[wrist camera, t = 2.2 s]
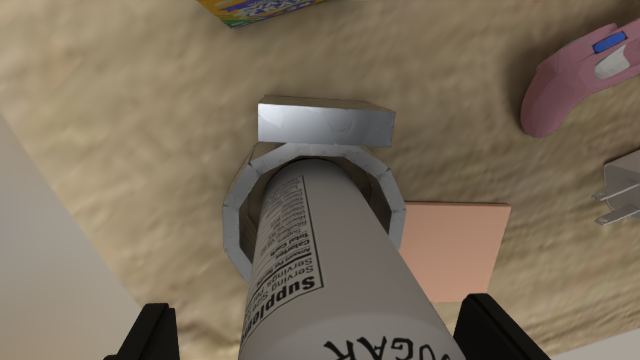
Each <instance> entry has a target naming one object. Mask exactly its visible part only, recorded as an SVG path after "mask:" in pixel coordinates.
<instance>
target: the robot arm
mask: <svg viewBox="0 0 640 360" xmlns="http://www.w3.org/2000/svg"><path fill="white" fill-rule="evenodd" d="M453 338H454V340H455V341H456V343H457V345H458V346H459V348H460V350H461V351H462V353H463V355H464V356H465V358H466V360H551V359H550V358H549V357H548V356H547V355H546V354H545V353H544V352H543V351H542V350H541V349H540V348H539V346H538V345H537V344H536V343H535V342H534V341H533V340H532V339H531V338H530V337H529V336H528V335H527V334H526V333H525V332H524V331H523V330H522V329H521V328H520V327H519V325H518V324H517V323H516V322H515V321H514V320H513V319H512V318H511V317H510V316H509V315H508V314H507V313H506V312H505V311H504V310H503V309H502V308H501V307H500V305H499V304H498V303H497V302H496V301H495V300H494V299H493V298H492V297H491V296H490V295H489V294H487V293H471V294H468V295H467V297H466V298H464V299H463V301H462V305H461V309H460V312H459V316H458V320H457V323H456V327H455V331H454V335H453ZM103 360H180V356H179V346H178V336H177V325H176V315H175V309H174V308H169V305H168V303H148V304H146V305H145V306H144V307H143V309H142V311H141V312H140V314H139V316H138V318H137V319H136V321H135V323H134V325H133V327H132V328H131V330H130V332H129V334H128V335H127V337H126V339H125V341H124V342H123V344H122V346H121V348H120V349H119V351H118V353H117V355H108V356H106V357H105V358H104V359H103Z"/></svg>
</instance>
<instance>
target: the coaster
mask: <svg viewBox="0 0 640 360" xmlns="http://www.w3.org/2000/svg"><path fill="white" fill-rule="evenodd" d="M405 205H406V208H405V209H406V210H407V212H406V218H405V224H404V229H403V235H402V240H401V246H400V249H397V250H398V251H399V253H400V255H401V257H402V258H403V260H404V261H405V263H406V264H407V266H408V268H409V269H410V271H411V272H412V274H413V275H414V277H415V279H416V280H417V282H418V283H419V285H420V286H421V288H422V290H423V291H424V293H425V294H426V296H427V297H428V299H429V301H430V302H462V301H463V299H464V298H466V297H467V295H468V294H471V293H486V292H487V289H488V285H489V282H490V279H491V275H492V272H493V268H494V265H495V262H496V258H497V255H498V252H499V248H500V245H501V242H502V238H503V235H504V232H505V228H506V225H507V222H508V218H509V215H510V211H511V208H512V207H511V206H509V205H508V204H481V203H437V202H405Z"/></svg>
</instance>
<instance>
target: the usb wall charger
mask: <svg viewBox="0 0 640 360" xmlns="http://www.w3.org/2000/svg"><path fill="white" fill-rule="evenodd" d="M604 177H605V188H606V189H604V190H602V191H600V192H598V193H596V194H594V195H592V196H591V197H593V198H595V199H597V200H600V201H602V200H605V199H607V204H608V205H609V206H610V207H611V208H612V209H613V210H614V211H613V212H611V213H608V214H606V215H604V216H602V217H600V218H598V219H596V220H594V222H596V223H598V224H600V225H602V226H605V225H608V224H610V223H613V222H616V221H618V220H621V219H623V218H625V217H630V218H633V219H635V220H637V221H640V150H637V151H635V152H633V153H630V154H628V155H626V156H624V157H621V158H619V159H617V160H614V161H612V162H610V163H608V164H606V165H604ZM598 195H606V196H605V197H598ZM600 220H608V222H601V221H600Z"/></svg>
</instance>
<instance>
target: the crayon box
mask: <svg viewBox="0 0 640 360" xmlns="http://www.w3.org/2000/svg"><path fill="white" fill-rule="evenodd" d="M197 1H198V2H199V3H201V4H202V5H203V6H204V7H205V8H206V9H208V10H209V11H210V12H211V13H213V14H214V15H215V16H217V17H218V18H219V19H220V20H222V21H223V22H224V23H225V24H227V25H228V26H229V27H230V28H231V29H233V28H236V27H239V26H243V25H246V24H249V23H252V22H255V21H259V20H262V19H265V18H269V17H272V16H276V15H279V14H282V13H285V12H288V11H292V10H295V9H299V8H302V7H305V6H308V5H312V4H315V3H318V2H322V1H325V0H197Z"/></svg>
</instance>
